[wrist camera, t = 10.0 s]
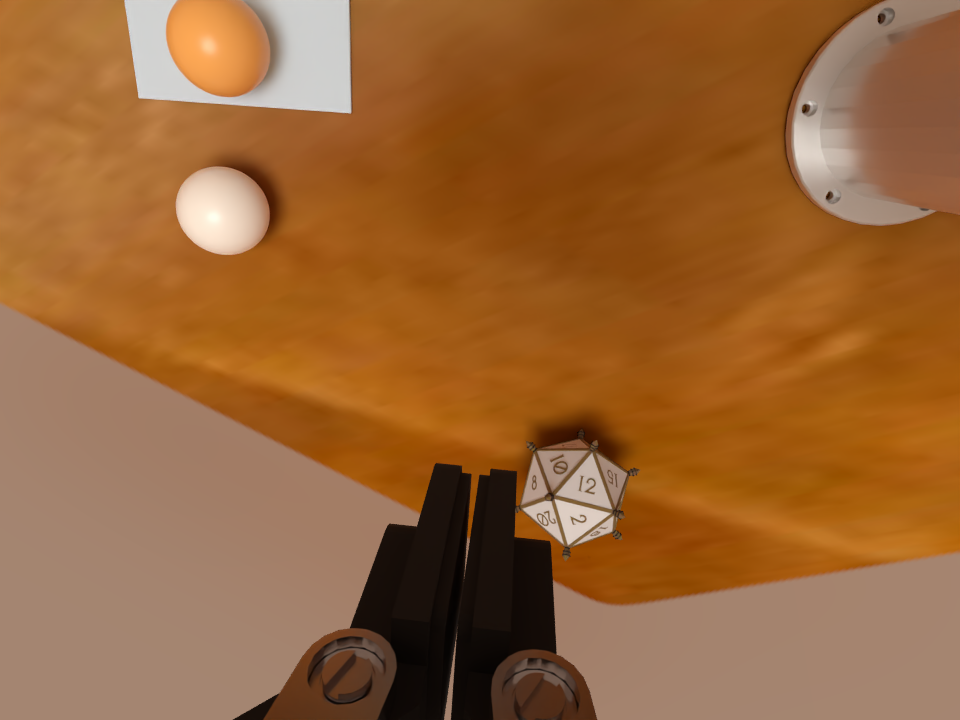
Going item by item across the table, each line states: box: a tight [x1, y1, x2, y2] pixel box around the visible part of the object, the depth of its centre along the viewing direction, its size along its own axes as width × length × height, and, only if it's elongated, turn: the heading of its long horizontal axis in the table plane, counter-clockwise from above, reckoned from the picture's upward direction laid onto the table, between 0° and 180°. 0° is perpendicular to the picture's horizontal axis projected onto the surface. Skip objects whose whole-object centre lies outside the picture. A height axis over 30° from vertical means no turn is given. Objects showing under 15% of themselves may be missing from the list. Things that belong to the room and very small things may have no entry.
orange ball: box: [166, 0, 270, 97], centre depth 33 cm, size 6×6×6 cm
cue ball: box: [176, 166, 270, 255], centre depth 36 cm, size 6×6×6 cm
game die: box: [515, 429, 640, 561], centre depth 41 cm, size 9×8×10 cm
